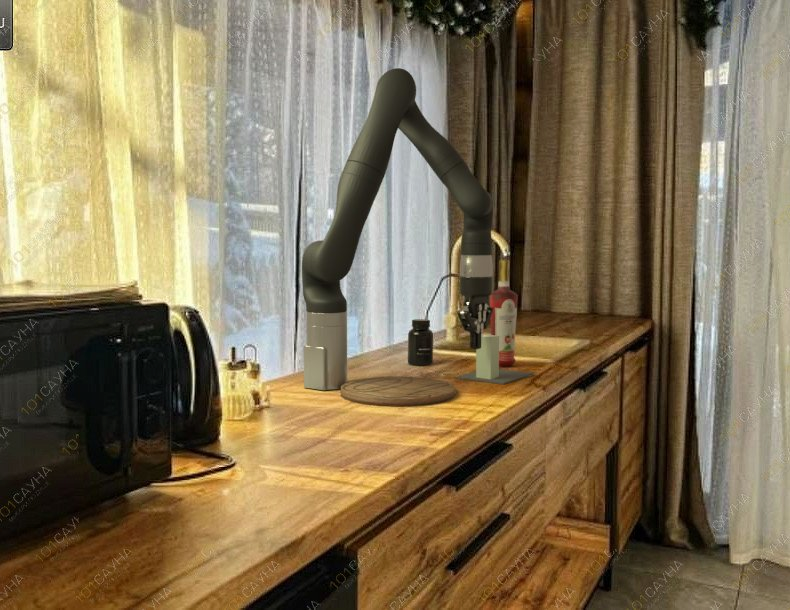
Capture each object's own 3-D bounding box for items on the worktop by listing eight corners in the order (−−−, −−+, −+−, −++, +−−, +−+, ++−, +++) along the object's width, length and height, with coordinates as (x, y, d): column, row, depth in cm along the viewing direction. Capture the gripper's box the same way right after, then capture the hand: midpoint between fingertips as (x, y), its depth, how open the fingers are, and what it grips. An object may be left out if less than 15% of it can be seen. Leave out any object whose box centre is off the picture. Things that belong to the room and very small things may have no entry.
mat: (503, 384, 175) (503, 382, 175) (455, 378, 183) (455, 376, 183) (534, 374, 188) (534, 372, 188) (488, 369, 195) (488, 367, 195)
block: (490, 379, 179) (491, 336, 178) (476, 377, 182) (476, 335, 181) (498, 376, 182) (499, 335, 182) (484, 375, 185) (484, 333, 184)
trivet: (476, 392, 168) (476, 384, 168) (414, 414, 147) (414, 404, 147) (384, 380, 182) (384, 372, 182) (316, 398, 161) (316, 389, 161)
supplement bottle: (423, 367, 198) (423, 321, 197) (402, 364, 202) (402, 320, 201) (438, 363, 204) (438, 319, 203) (417, 361, 208) (417, 317, 207)
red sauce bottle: (509, 362, 205) (511, 259, 203) (521, 367, 198) (522, 260, 196) (484, 363, 203) (485, 260, 201) (495, 368, 196) (496, 260, 194)
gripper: (476, 273, 182) (475, 344, 184) (447, 275, 172) (446, 350, 173) (504, 273, 178) (503, 346, 179) (475, 276, 167) (475, 353, 169)
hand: (475, 348), depth 176 cm, fingers closed
